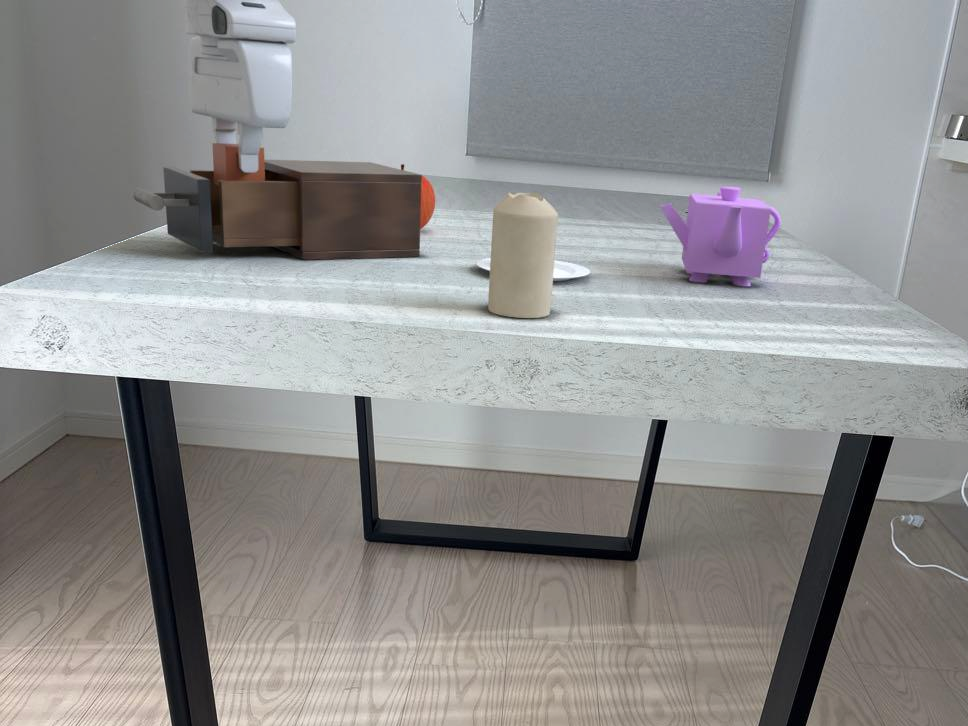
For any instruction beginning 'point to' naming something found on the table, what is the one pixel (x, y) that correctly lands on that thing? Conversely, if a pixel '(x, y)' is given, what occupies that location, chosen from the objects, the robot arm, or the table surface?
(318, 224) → the cabinet
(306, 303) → the table surface
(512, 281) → the candle
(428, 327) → the table surface
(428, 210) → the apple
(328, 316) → the table surface
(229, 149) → the block
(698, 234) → the teapot
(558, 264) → the white saucer
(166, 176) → the drawer
